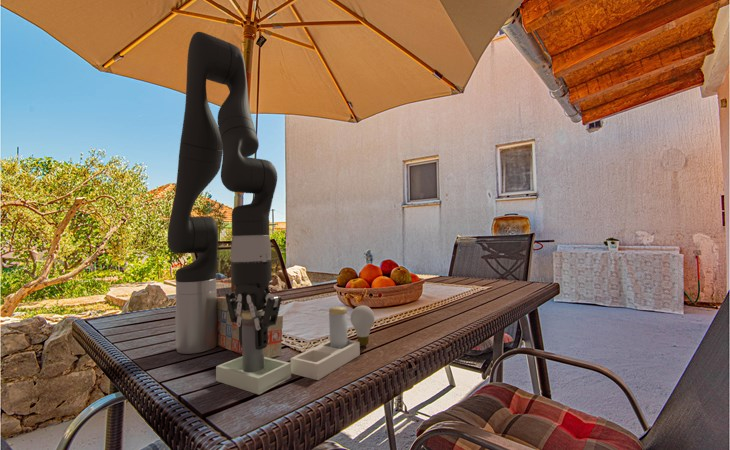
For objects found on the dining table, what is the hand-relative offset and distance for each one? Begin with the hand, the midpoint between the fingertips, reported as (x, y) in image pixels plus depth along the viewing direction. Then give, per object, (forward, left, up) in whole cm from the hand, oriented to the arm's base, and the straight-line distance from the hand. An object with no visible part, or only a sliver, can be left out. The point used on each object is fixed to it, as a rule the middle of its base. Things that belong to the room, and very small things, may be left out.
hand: (253, 346), depth 66 cm
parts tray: (0, 0, -6) cm, 6 cm away
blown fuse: (0, 0, -4) cm, 4 cm away
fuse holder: (+8, +13, -6) cm, 17 cm away
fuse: (+8, +17, -6) cm, 20 cm away
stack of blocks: (-16, +11, -7) cm, 20 cm away
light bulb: (+9, +26, -7) cm, 28 cm away
